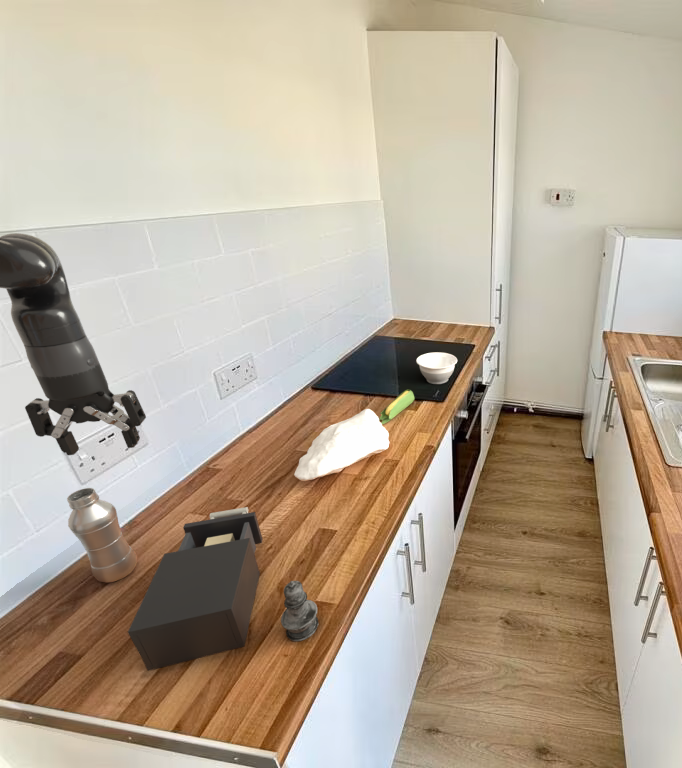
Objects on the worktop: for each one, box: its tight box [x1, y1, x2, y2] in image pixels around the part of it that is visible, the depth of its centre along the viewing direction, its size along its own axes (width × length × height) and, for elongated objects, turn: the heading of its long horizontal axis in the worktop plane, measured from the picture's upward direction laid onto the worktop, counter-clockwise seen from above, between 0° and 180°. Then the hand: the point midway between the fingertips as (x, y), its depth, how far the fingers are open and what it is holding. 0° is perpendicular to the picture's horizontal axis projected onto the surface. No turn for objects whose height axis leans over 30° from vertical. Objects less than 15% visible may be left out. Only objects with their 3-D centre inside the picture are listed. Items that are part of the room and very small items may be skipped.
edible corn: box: [379, 389, 415, 425], centre depth 148 cm, size 5×20×5 cm, turn 164°
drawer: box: [177, 506, 264, 556], centre depth 87 cm, size 20×13×8 cm, turn 19°
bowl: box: [415, 351, 458, 385], centre depth 171 cm, size 16×16×8 cm
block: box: [204, 533, 235, 546], centre depth 87 cm, size 4×4×4 cm
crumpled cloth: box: [293, 408, 390, 482], centre depth 122 cm, size 24×35×9 cm
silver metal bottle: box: [66, 487, 138, 584], centre depth 82 cm, size 6×7×20 cm
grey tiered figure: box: [280, 580, 319, 642], centre depth 75 cm, size 6×6×12 cm
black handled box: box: [127, 538, 261, 672], centre depth 77 cm, size 16×14×10 cm
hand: (103, 449), depth 76 cm, fingers open, 8 cm apart
